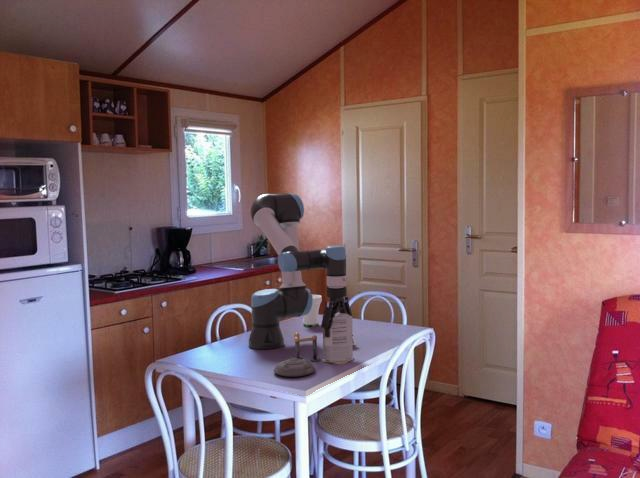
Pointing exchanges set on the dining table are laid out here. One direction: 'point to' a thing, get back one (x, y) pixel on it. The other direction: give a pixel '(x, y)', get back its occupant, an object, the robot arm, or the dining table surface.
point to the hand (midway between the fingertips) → (337, 341)
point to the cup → (313, 312)
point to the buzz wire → (297, 340)
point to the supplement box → (340, 339)
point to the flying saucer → (294, 368)
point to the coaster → (336, 361)
